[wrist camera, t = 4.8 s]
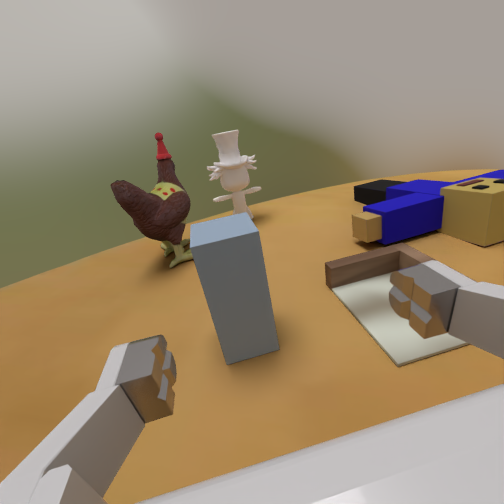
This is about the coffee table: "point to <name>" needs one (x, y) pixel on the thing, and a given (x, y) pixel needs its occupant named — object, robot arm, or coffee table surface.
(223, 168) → the figurine
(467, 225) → the toy
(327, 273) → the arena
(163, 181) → the figurine
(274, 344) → the block
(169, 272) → the coffee table surface
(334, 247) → the coffee table surface
